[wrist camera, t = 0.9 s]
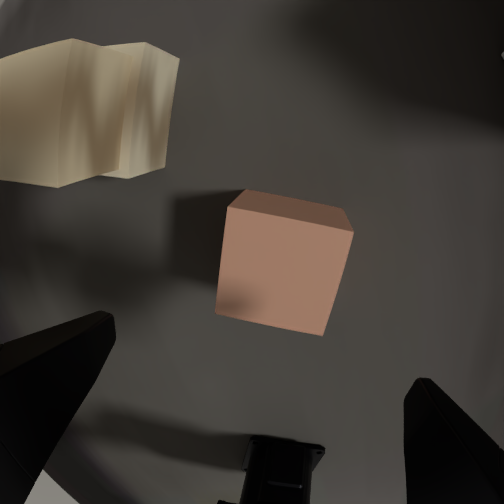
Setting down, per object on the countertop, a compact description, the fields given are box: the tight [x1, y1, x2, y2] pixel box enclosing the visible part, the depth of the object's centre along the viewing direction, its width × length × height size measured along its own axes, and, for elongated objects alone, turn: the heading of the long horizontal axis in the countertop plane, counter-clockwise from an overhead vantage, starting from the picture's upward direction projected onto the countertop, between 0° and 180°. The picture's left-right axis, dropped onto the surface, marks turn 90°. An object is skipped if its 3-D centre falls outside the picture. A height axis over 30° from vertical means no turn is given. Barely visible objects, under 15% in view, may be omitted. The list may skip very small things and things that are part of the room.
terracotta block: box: [215, 189, 354, 336], centre depth 15 cm, size 5×5×4 cm
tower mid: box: [0, 38, 133, 188], centre depth 10 cm, size 5×5×4 cm
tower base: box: [101, 42, 179, 179], centre depth 13 cm, size 6×6×4 cm
